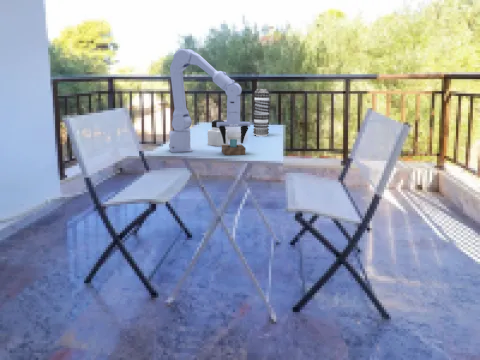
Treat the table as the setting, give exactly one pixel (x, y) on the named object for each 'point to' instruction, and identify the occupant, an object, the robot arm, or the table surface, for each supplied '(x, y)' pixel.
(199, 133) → the table surface
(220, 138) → the medicine bottle
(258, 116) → the decorative candle
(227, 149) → the socket block
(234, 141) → the peg
